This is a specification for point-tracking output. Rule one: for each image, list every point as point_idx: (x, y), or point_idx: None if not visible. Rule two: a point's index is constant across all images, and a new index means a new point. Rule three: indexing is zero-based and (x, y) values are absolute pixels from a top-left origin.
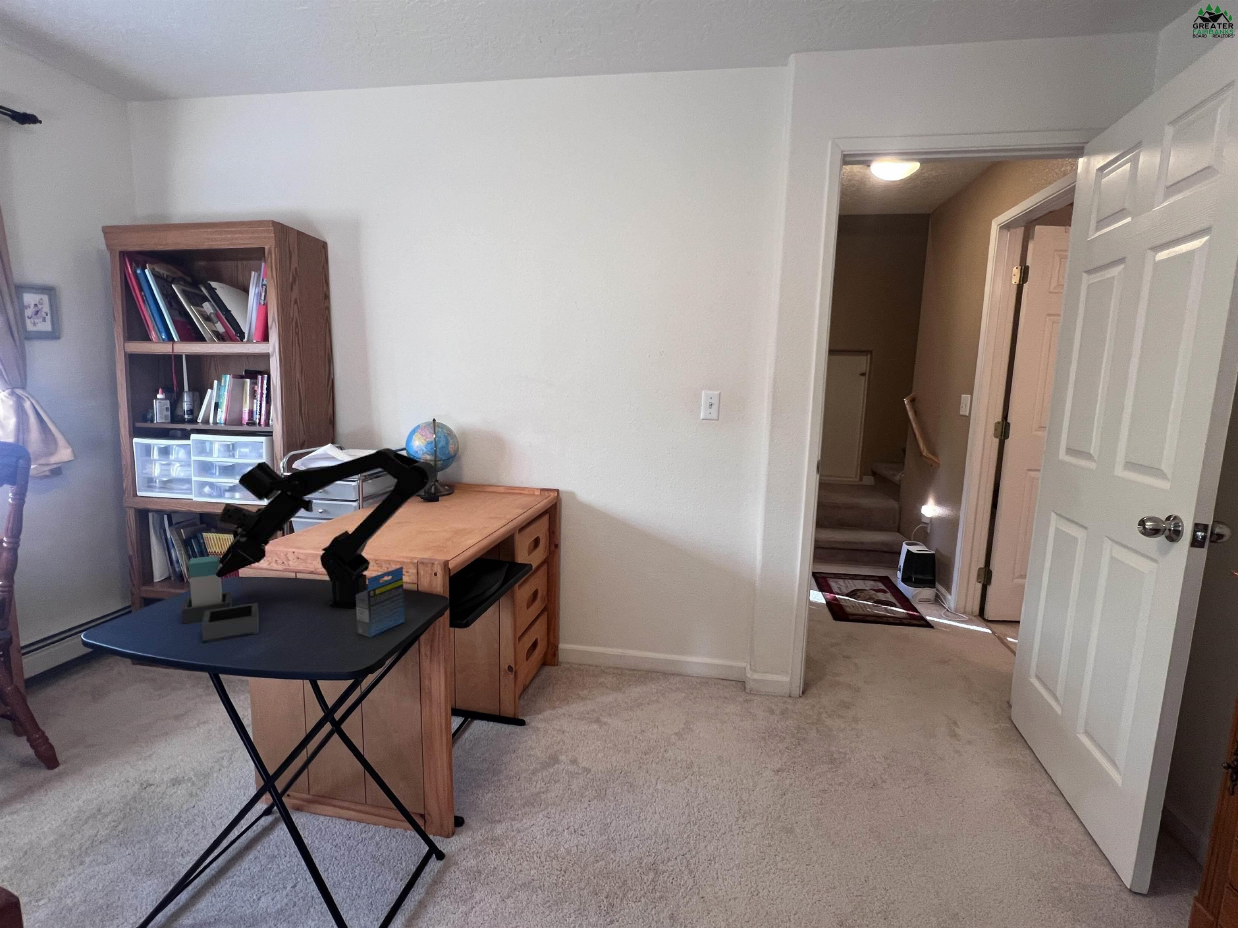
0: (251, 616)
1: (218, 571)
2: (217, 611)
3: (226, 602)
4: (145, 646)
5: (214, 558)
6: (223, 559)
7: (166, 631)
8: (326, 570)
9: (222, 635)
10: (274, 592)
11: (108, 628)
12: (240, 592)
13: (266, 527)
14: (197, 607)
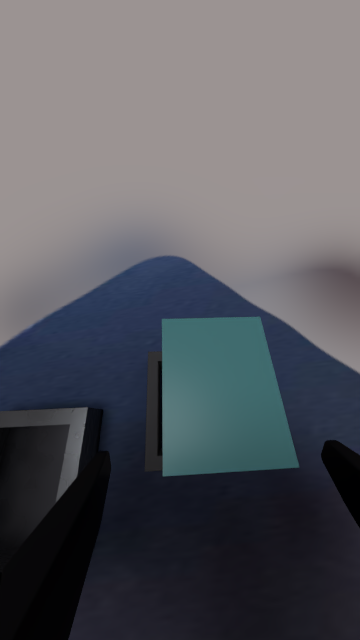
0: None
1: (80, 474)
2: (67, 443)
3: (151, 460)
4: (69, 319)
5: (226, 442)
6: (344, 470)
7: (124, 339)
8: None
9: None
10: (325, 609)
11: (185, 265)
12: None
13: None
14: (148, 383)
